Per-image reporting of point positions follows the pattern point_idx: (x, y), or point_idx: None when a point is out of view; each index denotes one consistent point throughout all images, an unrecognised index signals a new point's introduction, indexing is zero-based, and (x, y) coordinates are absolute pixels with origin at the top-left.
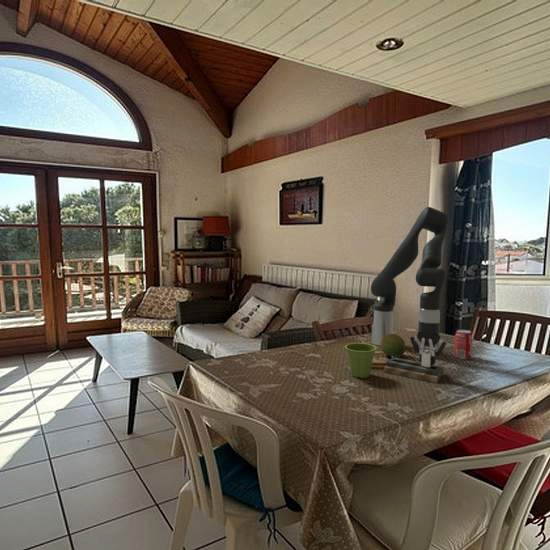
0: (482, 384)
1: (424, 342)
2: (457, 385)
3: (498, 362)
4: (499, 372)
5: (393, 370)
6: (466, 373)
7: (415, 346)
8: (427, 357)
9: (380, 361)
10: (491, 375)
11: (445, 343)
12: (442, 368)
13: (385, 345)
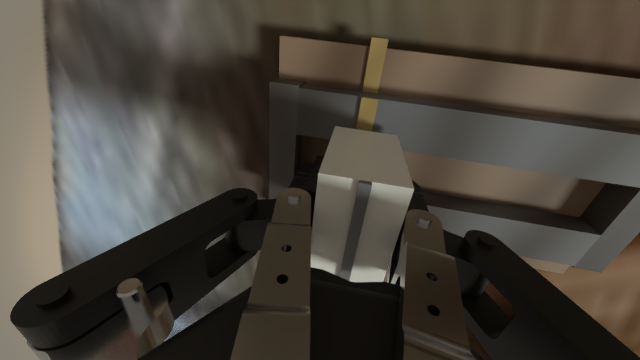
0: (117, 142)
1: (402, 329)
2: (186, 64)
3: None
4: None
5: (612, 75)
6: (213, 243)
7: (521, 283)
8: (347, 159)
9: (635, 267)
10: None
11: (21, 298)
12: (270, 185)
13: None
